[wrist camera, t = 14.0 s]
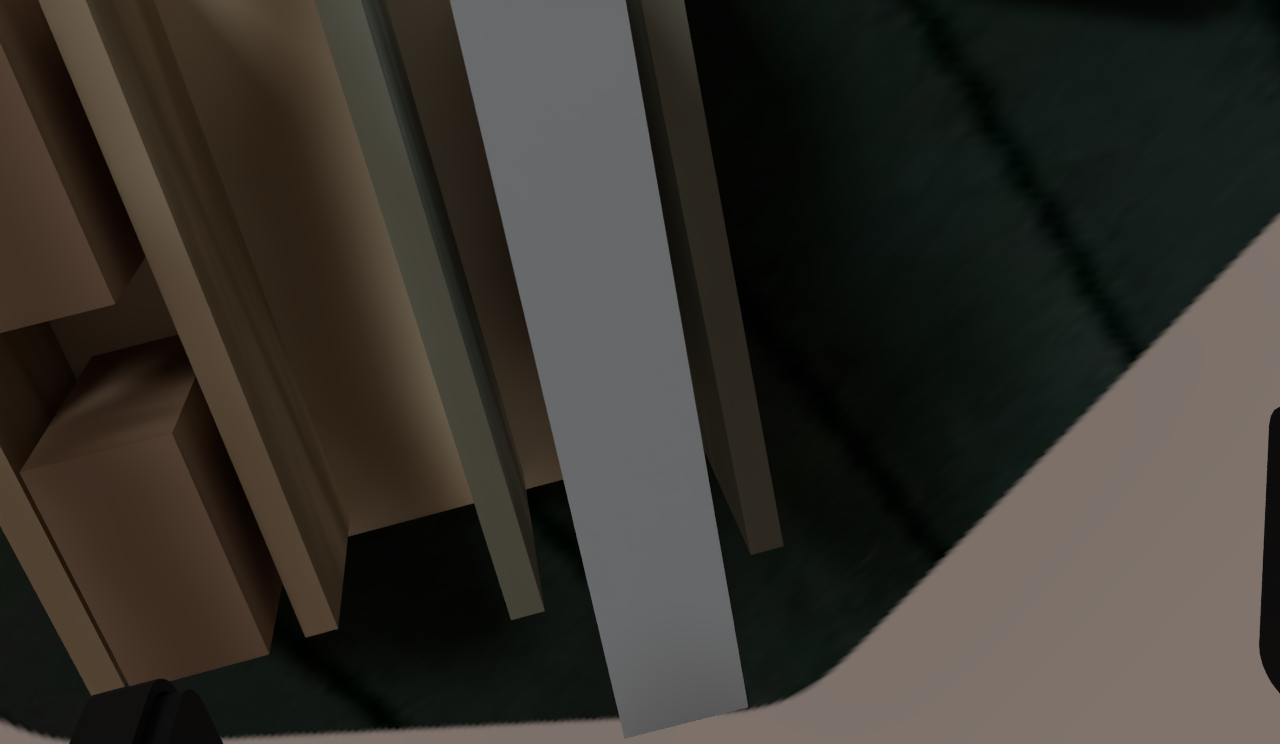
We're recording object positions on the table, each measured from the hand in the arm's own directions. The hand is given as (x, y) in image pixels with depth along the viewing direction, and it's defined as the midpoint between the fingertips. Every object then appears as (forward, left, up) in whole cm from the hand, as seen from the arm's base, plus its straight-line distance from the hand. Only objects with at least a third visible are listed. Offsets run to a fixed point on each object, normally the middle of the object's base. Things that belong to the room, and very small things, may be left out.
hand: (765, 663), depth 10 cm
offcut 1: (+11, -3, -21) cm, 24 cm away
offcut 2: (+11, +6, -21) cm, 25 cm away
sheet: (0, 0, -21) cm, 21 cm away
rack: (+6, +2, -23) cm, 24 cm away
